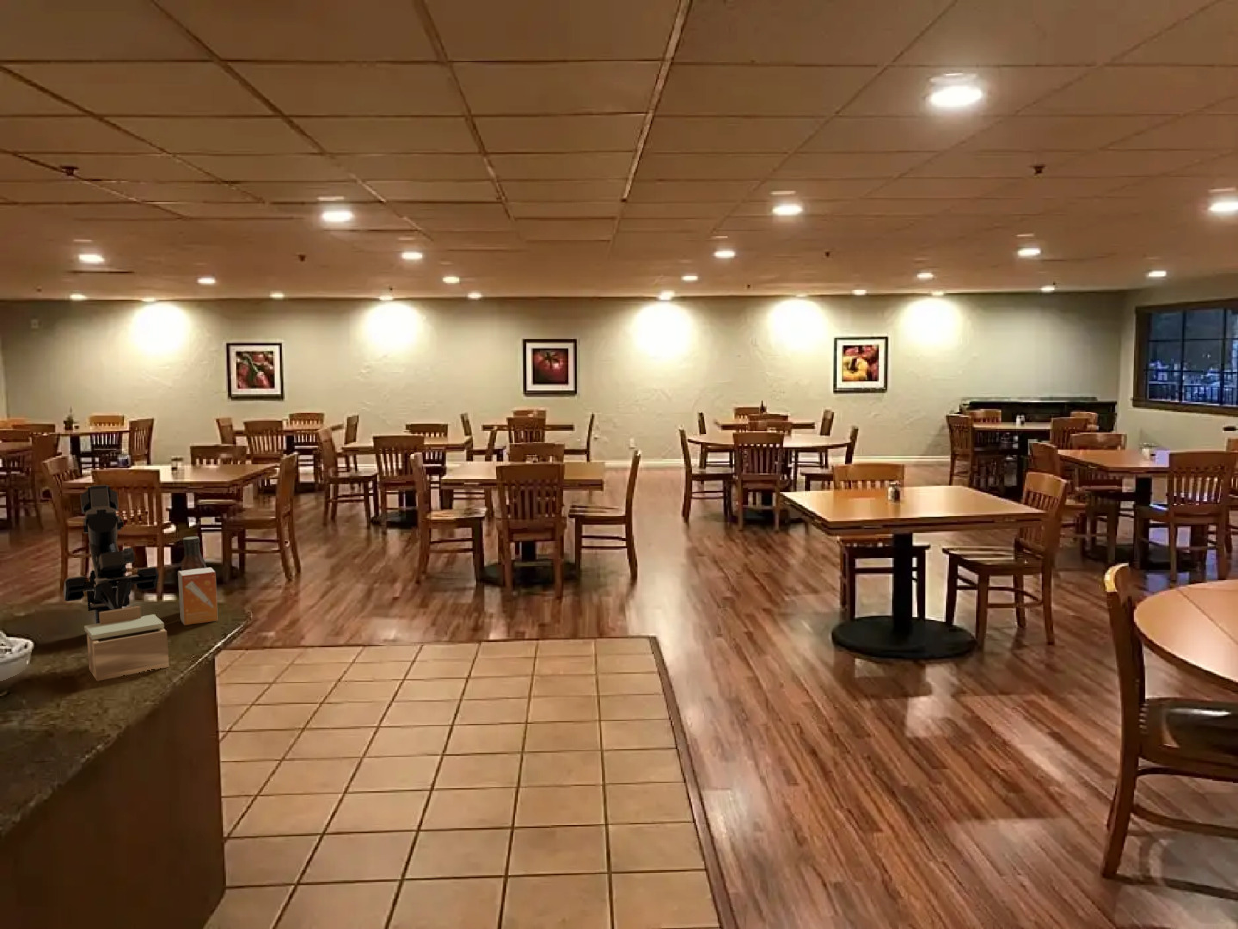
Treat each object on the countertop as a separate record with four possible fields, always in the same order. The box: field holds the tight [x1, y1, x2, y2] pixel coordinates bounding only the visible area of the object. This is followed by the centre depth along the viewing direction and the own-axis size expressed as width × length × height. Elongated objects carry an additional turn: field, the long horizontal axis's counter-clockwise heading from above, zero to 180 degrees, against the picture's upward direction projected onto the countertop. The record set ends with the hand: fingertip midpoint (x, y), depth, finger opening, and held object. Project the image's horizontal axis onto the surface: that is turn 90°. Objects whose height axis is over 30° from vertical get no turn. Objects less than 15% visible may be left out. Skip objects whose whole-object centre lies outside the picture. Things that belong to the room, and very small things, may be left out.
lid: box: [83, 605, 165, 640], centre depth 205 cm, size 9×14×4 cm, turn 128°
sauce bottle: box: [180, 536, 208, 571], centre depth 249 cm, size 7×6×20 cm
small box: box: [177, 567, 219, 626], centre depth 240 cm, size 8×6×13 cm
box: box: [86, 627, 170, 682], centre depth 204 cm, size 9×14×8 cm, turn 128°
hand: (119, 614), depth 209 cm, fingers closed, pressing on lid
